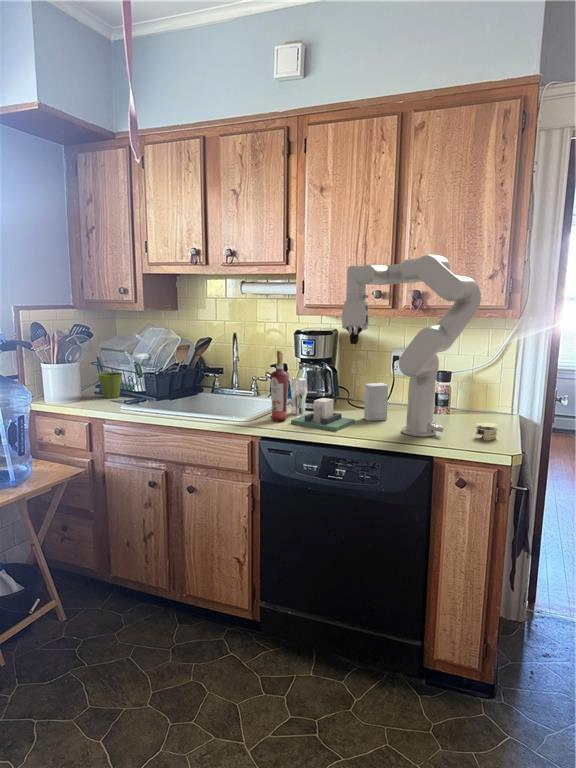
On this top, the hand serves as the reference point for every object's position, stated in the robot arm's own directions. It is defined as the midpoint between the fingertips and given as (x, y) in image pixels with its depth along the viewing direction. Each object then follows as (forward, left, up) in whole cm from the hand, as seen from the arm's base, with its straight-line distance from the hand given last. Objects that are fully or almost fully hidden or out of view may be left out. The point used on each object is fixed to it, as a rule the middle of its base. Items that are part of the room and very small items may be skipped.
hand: (354, 343), depth 211 cm
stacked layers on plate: (-53, -3, -32) cm, 61 cm away
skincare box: (-8, -6, -31) cm, 33 cm away
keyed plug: (+6, +13, -30) cm, 33 cm away
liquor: (+23, +19, -31) cm, 43 cm away
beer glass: (+23, +4, -31) cm, 39 cm away
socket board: (+6, +13, -31) cm, 34 cm away
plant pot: (+114, +28, -31) cm, 122 cm away
